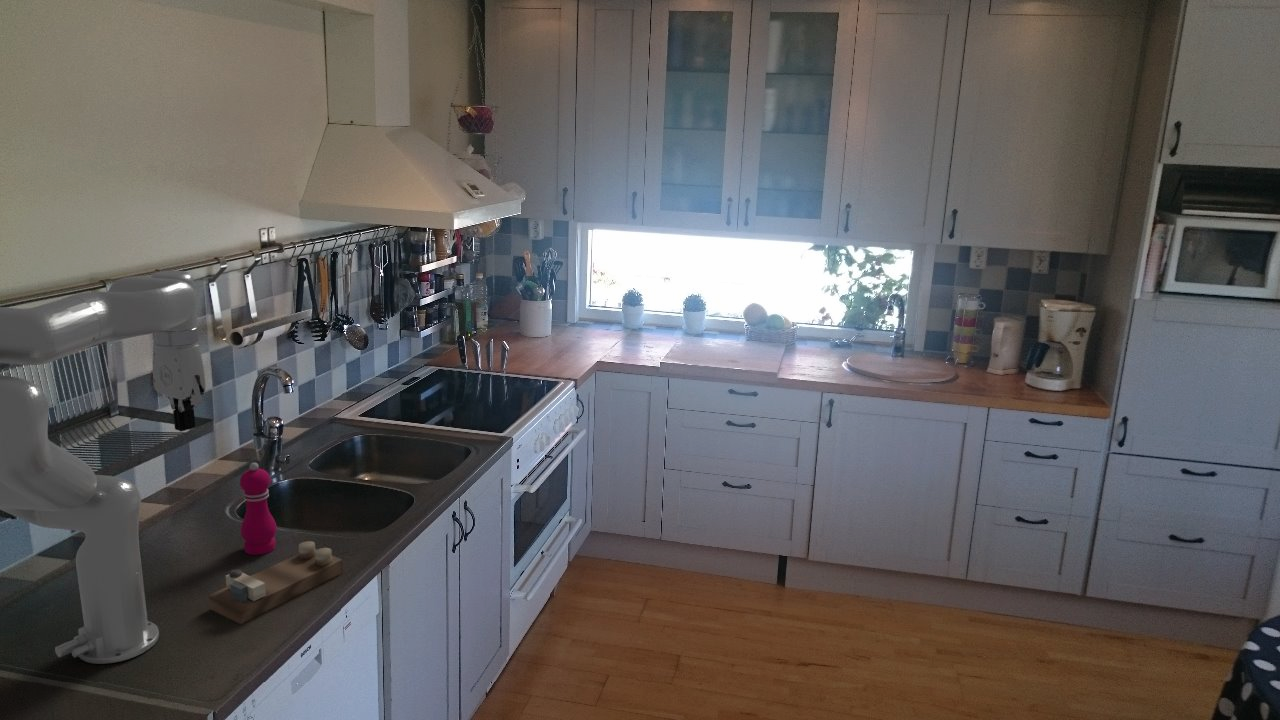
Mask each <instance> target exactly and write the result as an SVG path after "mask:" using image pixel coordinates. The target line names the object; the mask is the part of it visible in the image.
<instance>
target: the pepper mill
mask: <svg viewBox="0 0 1280 720" xmlns="http://www.w3.org/2000/svg"><path fill="white" fill-rule="evenodd" d="M239 485H240V489H242V490H243V494H242V495H243V499H244V500H245V503H246V512H245V514H244V517H243V520H242V522H241V526H240V536H241V538H242V539H243V540H244V543H243V547H244V548H243V549H244V552H245V554H248V555H250V556H251V555H252V556H261V555H265V554H268V553H271V552H272V551H275V549H276V538H275V536H276V534H277V531H278V527H277V523H276V521H275V518H274V517H273V515H272V514H271V512H270V509H269V507H268V506H269V505H268V498H269V496H270V494H269V493H270V492H269V491H270V490H269V489H268V488H269V487H270V486H271V477H270V474H269V473H268V471H266V470H265V469H263V468H260V467H259V464H258V463H257V462H251V463H250V465H249V469H248V470H246V471H243V473H242V474H241V476H240V479H239Z"/></svg>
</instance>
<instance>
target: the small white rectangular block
mask: <svg viewBox="0 0 1280 720" xmlns="http://www.w3.org/2000/svg"><path fill="white" fill-rule="evenodd" d="M251 576H252V575H248V574H246V573H245V572H243V571H242V570H241V569H237V568H236V569H233V570H230V571H229V573H228V574H227V575H225V583H226V584H225V587H227V588H228V589H230V590H231V584H233V583H235V582H237V583H240V584H242V585H244V586H246V588H247V598H248V599H251V600H253V601H255V600H257V599H259V598H261V597H264V596H266V589H265V583H264V582H262V581H260V580H257V579H255V578H253V577H251Z"/></svg>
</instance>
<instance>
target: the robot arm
mask: <svg viewBox="0 0 1280 720" xmlns="http://www.w3.org/2000/svg"><path fill="white" fill-rule="evenodd" d="M195 289H196V288H195V281H194V276H193V275H192V274H191V273H190V272H188V271H184V270H161V271H156V272H153V273H152V274H149V275H140V276H139V275H136V276H135V275H134V276H125V277H122V278H119V279H118V280H116V281H114V283H112V284H111V285H110V286H109V289H108V290H107V291H87V292H80V293H76V294H72V295H70V296H69V295H68V296H67V297H63V298H60V299H57V300H55V301H51V302H47V303H44V304H40V305H38V306H34V307H27V308H26V307H25V308H18V307H17V308H16V307H14V308H13V307H3V306H2V307H0V364H8V365H9V364H12V365H23V366H41V365H46V364H50V363H52V362H55V361H58V360H60V359H63V358H65V357H68V356H70V355H73V354H76V353H77V352H80V351H83V350H85V349H88V348H90V347H93V346H95V345H99V344H101V343H105V342H114V341H115V342H116V341H120V340H125V339H130V338H135V337H141V336H146V335H151V334H153V340H154V341H153V342H154V343H153V347H152V378H153V379H152V381H153V389H154V390H155V391H156V392H157V393H158V394H160V395H164V396H165V397H166V398H168V399H169V403H170V407H171V409H172V412H173V413H172V415H173V423H174V429H175V430H176V431H179V432H183V431H187V430H191V429H194V428H196V419H195V409H196V405H200V404H202V403H203V399H202V396H203V395H204V394H205V393H206V389H207V388H206V376H205V369H204V368H205V367H204V362H203V357H202V352H201V348H200V345H199V344H200V337H199V336H200V335H199V324H198V312H197V305H198V297H197V296H198V295H197V293H196V290H195ZM49 405H50V404H49V402H48V398H47V396H46V394H45V392H44V391H43V390H42V389H41V387H39V386H38V385H37V384H35V383H34V382H32V381H30V380H28V379H24V378H22V377H18V376H8V375H0V511H3V512H5V513H7V514H10V515H11V516H14V517H16V518H18V519H20V520H22V521H25V522H27V523H30V524H32V525H34V526H38V527H42V528H48V529H54V530H55V529H56V530H66V531H67V530H68V531H75V532H81V533H83V534H85V538H84V540H83V542H82V543H81V544H80V546H79V548H78V550H77V552H76V555H75V567H76V575H77V582H78V588H79V589H78V590H79V595H80V596H79V597H80V603H81V605H80V606H81V611H82V618H83V619H82V621H83V626H82V627H79V628H77V631H78V635H76V636H74V637H73V639H72V640H70V641H67V642H64V643H61V644H60V645H56V646H55V648H54V652H55V655H56V656H57V657H58V658H62V657H64V656H67V655H68V654H71V656H72V657H73V658H77V657H78V658H79V659H80V660H82V661H83V662H86V663H89V664H96V665H97V664H98V665H100V664H101V665H103V664H104V665H106V664H113V663H118V662H119V663H120V662H123V661H127V660H130V659H132V658H136V657H138V656H139V655H141V654H144V653H145V652H147V651H148V650H149V649H151V648H152V647H154V645H155V644H156V643H157V642H158V640H159V638H160V631H159V627H158V626H157V624H155V623H153V622H152V621H150V620H148V614H147V613H148V612H147V604H146V594H145V587H144V578H143V577H144V575H143V569H142V559H141V558H142V557H141V550H140V539H139V526H140V516H141V507H142V505H141V504H142V497H141V493H140V490H139V488H138V487H137V486H136V485H135V484H134V483H133V482H131V481H129V480H127V479H125V478H121V477H118V476H112V475H103V474H95V472H94V470H93V469H92V468H91V466H90V465H89V464H87V463H86V461H84V460H83V459H81V458H79V457H77V456H76V455H75V454H72V453H71V452H69V451H67V450H66V449H65V448H62V447H60V446H59V445H57V444H55V443H54V442H53V441H51V440H50V439H49V433H48V430H49V425H48V424H49V417H50V406H49Z"/></svg>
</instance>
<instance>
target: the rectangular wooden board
mask: <svg viewBox="0 0 1280 720" xmlns="http://www.w3.org/2000/svg"><path fill="white" fill-rule="evenodd" d="M332 553H333V552H332V549H331V548H330V547H322V548H318V549H317V548H316V543H315V541H310V540H309V541H308V540H307V541H303V542H300V543H299V544H298V554H296V555H293V556H292V557H289V558H286V559H284V560H283V561H281V562H278V563H275V564H274V565H272V566H269V567H267V568H264V569H263V570H261V571H259V572H256V573H254V574H252V575H250V576H251V577H253V578H255V579H257V580H260V581H262V582H264V583H265V589H266V596H264V597H261V598H259V599H257V600H255V601H253V600H251V599H248V598H247V588H246V586H244V585H242V584H240V583H237V582H235V583H233V584H231V590H230V589H228V588H227V587H226V586H225V587H223V588H221V589H219V590H216V591H215V592H213V593H211V594H208V602H209V609H210V610H211V611H213V612H215V613H218V614H220V615H221V616H223V617H225V618H227V619H229V620H231V621H233V622H236V623H237V624H239V625H243V624H244V623H247V622H248V621H250V620H252V619H254V618H256V617H259V616H261V615H262V614H264V613H266V612H269V611H270V610H272V609H275V608H277V607H278V606H280V605H281V604H284V603H286V602H287V601H290V600H292V599H294V598H295V597H298V596H300V595H301V594H304V593H306V592H308V591H310V590H312V589H314V588H316V587H317V586H319V585H321V584H323V583H326V582H327V581H330V580H332V579H333V578H336V577H338V576H339V575H341V574H343V573H344V564H343V559H342V558H340V557H337V556H335V555H333V554H332ZM293 597H294V598H293ZM291 598H292V599H291Z"/></svg>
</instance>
